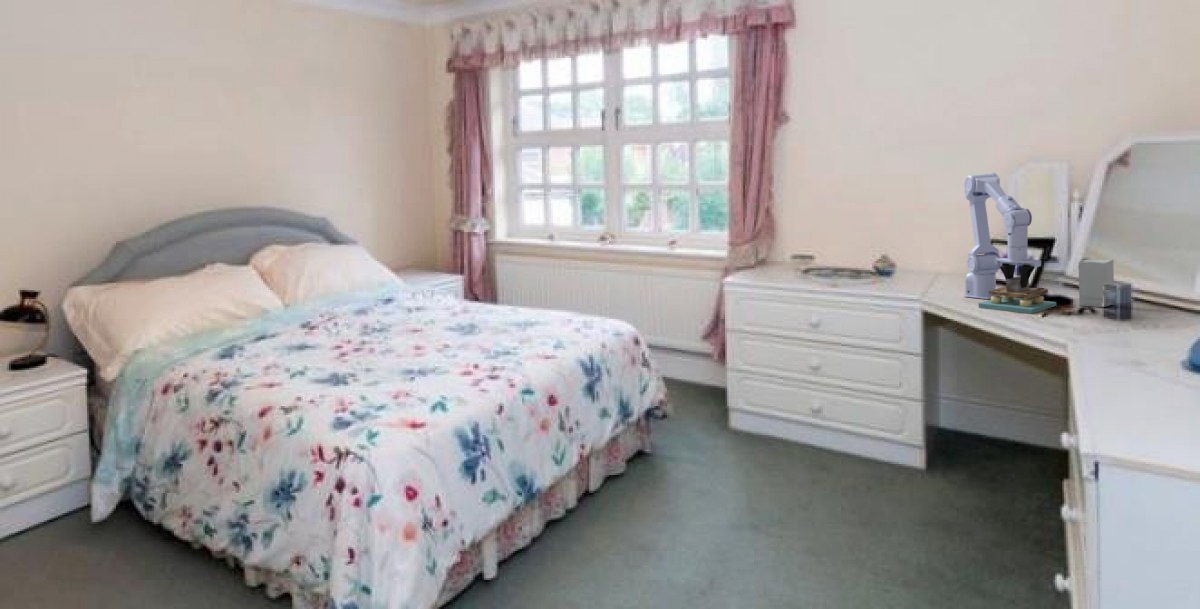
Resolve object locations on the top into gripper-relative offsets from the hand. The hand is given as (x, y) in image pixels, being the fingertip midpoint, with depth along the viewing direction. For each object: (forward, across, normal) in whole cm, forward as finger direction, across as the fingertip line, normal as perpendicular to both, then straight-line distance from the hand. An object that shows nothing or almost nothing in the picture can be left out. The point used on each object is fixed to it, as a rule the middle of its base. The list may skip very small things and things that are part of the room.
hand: (1017, 286), depth 246 cm
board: (+2, 0, 0) cm, 2 cm away
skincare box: (+7, -17, -15) cm, 24 cm away
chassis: (+7, 0, 0) cm, 7 cm away
